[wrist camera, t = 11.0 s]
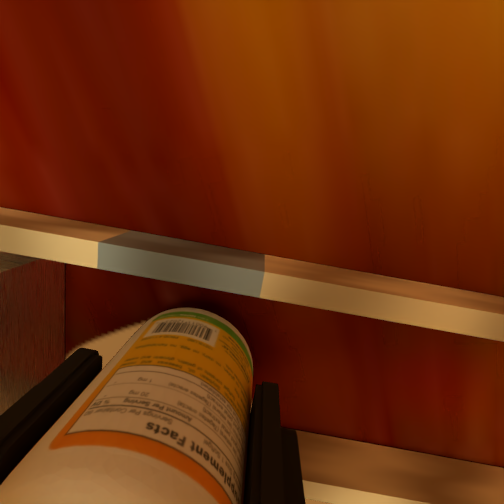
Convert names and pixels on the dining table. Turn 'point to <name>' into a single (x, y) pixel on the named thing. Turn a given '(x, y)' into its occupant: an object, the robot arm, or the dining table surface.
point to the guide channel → (251, 284)
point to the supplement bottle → (151, 423)
